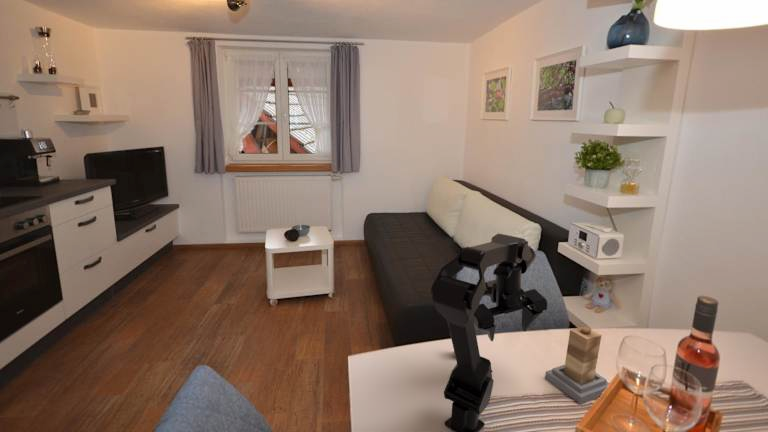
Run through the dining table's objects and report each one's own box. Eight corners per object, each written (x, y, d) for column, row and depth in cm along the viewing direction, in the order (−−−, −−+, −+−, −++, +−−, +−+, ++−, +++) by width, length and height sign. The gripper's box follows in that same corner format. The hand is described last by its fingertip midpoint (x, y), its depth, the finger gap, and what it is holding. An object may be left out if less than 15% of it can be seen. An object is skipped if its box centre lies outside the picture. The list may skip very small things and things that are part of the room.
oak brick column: (579, 386, 104) (587, 334, 101) (563, 375, 109) (570, 325, 105) (593, 381, 106) (602, 330, 103) (577, 370, 111) (584, 321, 107)
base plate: (580, 404, 101) (582, 392, 100) (545, 378, 110) (546, 367, 110) (611, 392, 105) (613, 381, 105) (574, 368, 115) (576, 357, 114)
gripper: (523, 258, 109) (522, 307, 116) (457, 276, 105) (459, 325, 112) (550, 280, 99) (547, 332, 106) (478, 300, 96) (480, 353, 102)
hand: (507, 335), depth 107 cm, fingers open, 9 cm apart
